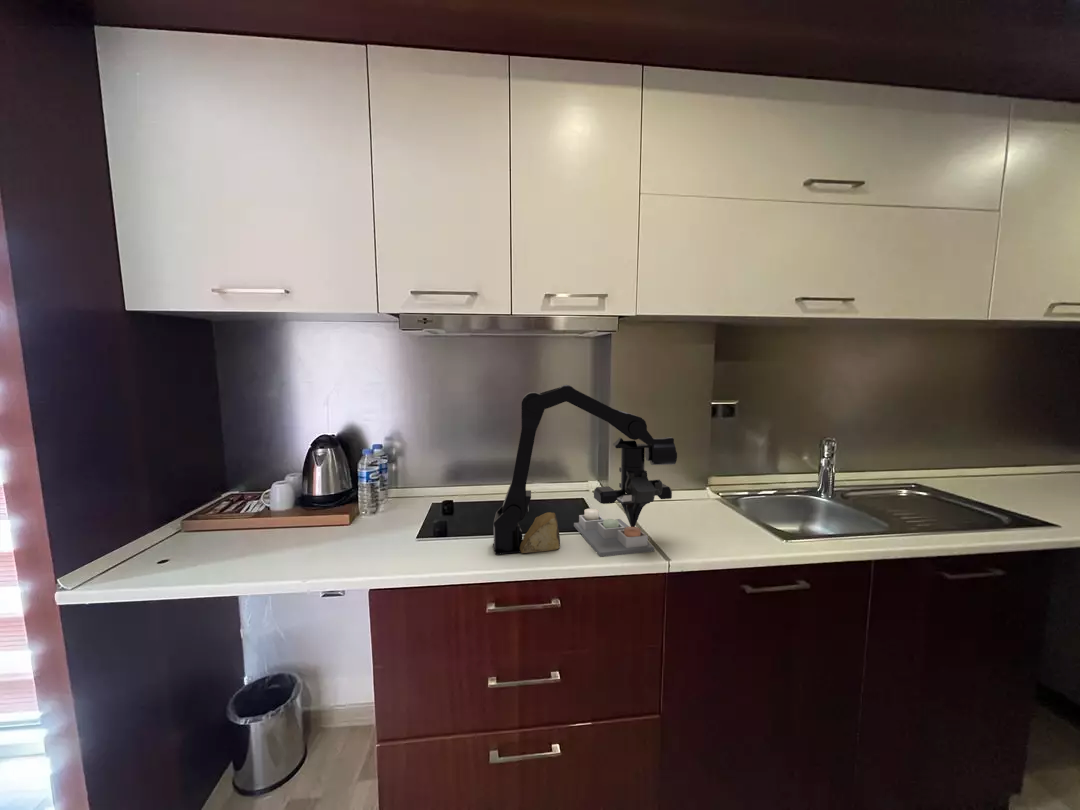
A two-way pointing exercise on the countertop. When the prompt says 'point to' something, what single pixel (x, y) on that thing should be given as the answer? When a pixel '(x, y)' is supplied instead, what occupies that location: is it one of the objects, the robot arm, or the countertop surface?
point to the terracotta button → (632, 531)
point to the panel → (611, 538)
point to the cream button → (591, 514)
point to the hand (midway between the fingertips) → (632, 526)
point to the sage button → (610, 523)
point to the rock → (542, 534)
